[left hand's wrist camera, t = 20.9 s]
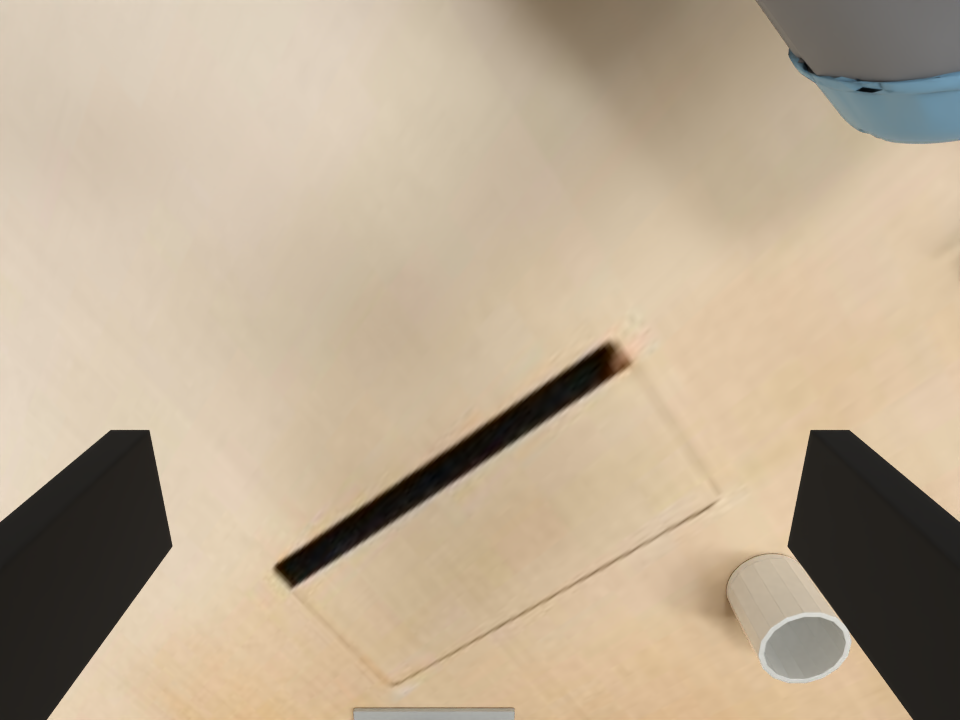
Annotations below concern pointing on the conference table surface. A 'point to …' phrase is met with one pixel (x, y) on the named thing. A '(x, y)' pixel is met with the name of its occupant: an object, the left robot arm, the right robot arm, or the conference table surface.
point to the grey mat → (433, 713)
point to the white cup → (787, 619)
